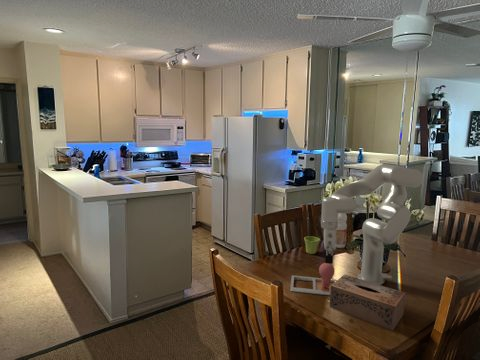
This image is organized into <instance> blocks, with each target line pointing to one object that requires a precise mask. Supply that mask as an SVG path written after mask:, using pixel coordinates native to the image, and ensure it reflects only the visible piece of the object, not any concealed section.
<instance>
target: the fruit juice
mask: <svg viewBox="0 0 480 360" xmlns="http://www.w3.org/2000/svg"><path fill="white" fill-rule="evenodd" d="M347 220H348V216H347V213H339V214H338V228H337V229H336V249H345V247H346V244H347V243H346V241H347V229H348V228H347V227H348V224H347Z"/></svg>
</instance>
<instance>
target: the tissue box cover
mask: <svg viewBox="0 0 480 360" xmlns="http://www.w3.org/2000/svg"><path fill="white" fill-rule="evenodd" d="M336 280H337V281H336V282H335V283H333V284H332V285H331V291H330V295H329V308H331V309H334V310H336V309H337V310H336V311H339V312H342V313H344V312H345V314H347V313H348V314H347V315H350V316H353V317H356V318H359V319H361V320H363V321H366V322H369V323H372V324H374V325H377V326H380V327H382V328H385V329H388V330H391V331H394V329H395V328H396V327H397V325H398V323H399V322H400V320H401V318H402V317H403V315H404V313H405V300H406V292H405V291H401V290H398V289H394V288H391V287H388V286H384V285H378V284H375V283H371V282H368V281H365V280H361V279H358V278H357V277H354V276H350V275H349V274H348V275H347V274H343V275H342V276H341V277H340V278H338V279H336Z"/></svg>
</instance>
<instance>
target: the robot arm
mask: <svg viewBox="0 0 480 360" xmlns="http://www.w3.org/2000/svg"><path fill="white" fill-rule="evenodd" d="M423 182H424V174H423V173H422V172H421V171H420V170H418V169H414V168H408V167H404V166H399V165H393V164H387V163H381V164H378V165H377V166H376V167H374V169H372V170H370V171H369V172H368V173H367V174H366V175H364V176H363V177H362V178H360V179H359V180H355V181H352V182H350V183H348V184H345V185H342V186H341V187H339V188H338V189H336V190H335V191H333V192H332V194H331V195H330V196H326V197H323V198H322V200H321V221H320V223H321V224H320V227H321V228H322V229H323V245H324V246H323V247H324V250H323V253H324V254H323V255H324V257H325V261H324V263H328V264H331V265H332V264H334V263H333V260H334V255H333V251H336V249H337V248H336V229H337V228H338V214H339V213H346V214H351V213H353V212H355V211H356V209H357V207H358V203H357V201H356V200H355V199H354V197H359V196H360V197H361V196H368V195H372V194H374V193H375V192H376V191H378V190H379V189H380V188H381V187H382V186H384V185H385V184H386V183H387V184H390V187H389V191H388V194H387V195H386V196H385V198H384V200H382V202H381V204H380V205H379V206H378V208H377V211H376V214H377V216H378V217H379V218H380V219H378V218H373V217H371V218H367V219H366V220H365V221H363V223H362V228H361V229H362V230H361V231H362V237H363V238H362V239H363V240H362V241H363V243H362V255H361V267H360V269H361V270H360V273H358V274H357V276H356V278H358V279H361V280H365V281H368V282H371V283H375V284H378V285H381V286H383V284H385V280H392V279H393V277H392V275H391V274H390V275H389V274H388V273H383V272H382V270H383V262H384V249H385V247H384V244H386V245H392V244H393V243H395V241H397V240H398V238H399V237H400V235H401V234H402V233H403V231H404V230H405V229H406V228H407V225H408V224H409V222H410V220H411V216H412V214H411V211H410V209H409V208H408V206H406V205H404V203H406V200H407V198H408V192H407V188H413V189H414V188H418V187H420V186H421V185H422V183H423Z"/></svg>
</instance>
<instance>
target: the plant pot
mask: <svg viewBox="0 0 480 360" xmlns="http://www.w3.org/2000/svg"><path fill="white" fill-rule="evenodd" d="M303 239H304V244H305V251H306V253H308V254H310V255H314V254H316V253H317V251H318V248H319V247H318V246H319V242H320V241H321V239H320V237H316V236H305V237H304V238H303Z"/></svg>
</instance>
